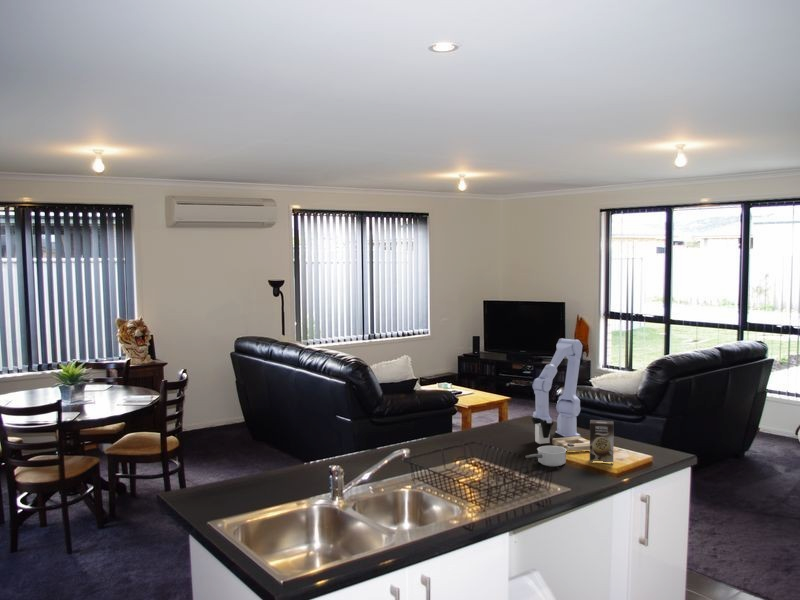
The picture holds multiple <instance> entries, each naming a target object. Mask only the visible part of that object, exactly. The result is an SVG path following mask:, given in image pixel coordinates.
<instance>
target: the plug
mask: <svg viewBox="0 0 800 600" xmlns="http://www.w3.org/2000/svg"><path fill="white" fill-rule="evenodd" d="M551 430H553V426H552V427H551V429H550V431H551ZM550 436H551V435H550V433H549V437H548V438H544V437H543V432H542V427H541V424H540V423H539V424H535V426H534V437H535V438H534V440H535V443H537V444H539V445H542V444H550Z"/></svg>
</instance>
